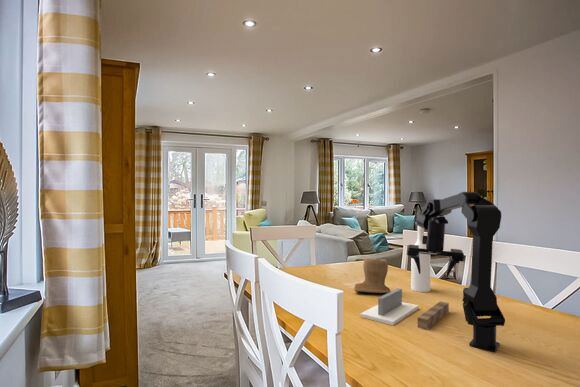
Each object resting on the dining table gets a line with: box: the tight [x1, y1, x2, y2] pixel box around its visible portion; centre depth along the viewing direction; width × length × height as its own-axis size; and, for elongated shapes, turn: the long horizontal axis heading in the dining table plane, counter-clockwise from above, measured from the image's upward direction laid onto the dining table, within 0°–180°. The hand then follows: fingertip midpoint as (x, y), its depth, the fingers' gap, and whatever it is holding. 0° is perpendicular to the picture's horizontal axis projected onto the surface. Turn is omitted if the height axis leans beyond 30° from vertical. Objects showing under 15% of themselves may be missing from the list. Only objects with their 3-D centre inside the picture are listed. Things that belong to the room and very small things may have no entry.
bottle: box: [410, 225, 431, 293], centre depth 156 cm, size 8×8×30 cm
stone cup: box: [353, 257, 391, 294], centre depth 153 cm, size 15×12×15 cm
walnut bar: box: [417, 300, 450, 330], centre depth 120 cm, size 22×3×4 cm, turn 139°
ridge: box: [359, 288, 419, 326], centre depth 126 cm, size 22×12×7 cm, turn 139°
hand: (433, 275), depth 128 cm, fingers open, 9 cm apart
